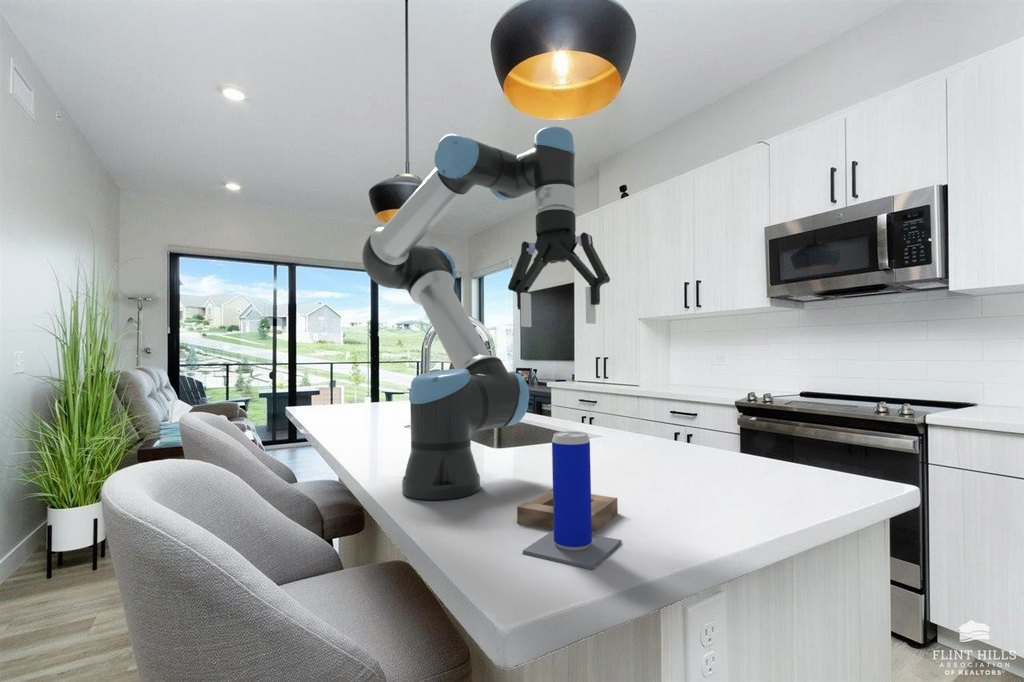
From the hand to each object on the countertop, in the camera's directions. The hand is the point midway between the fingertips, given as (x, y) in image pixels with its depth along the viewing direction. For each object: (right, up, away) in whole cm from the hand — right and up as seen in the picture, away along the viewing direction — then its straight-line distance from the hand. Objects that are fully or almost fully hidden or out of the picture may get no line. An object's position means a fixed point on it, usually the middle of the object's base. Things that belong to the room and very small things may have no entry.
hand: (557, 325), depth 95 cm
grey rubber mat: (0, -31, -26) cm, 41 cm away
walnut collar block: (+1, -31, -14) cm, 34 cm away
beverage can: (0, -31, -26) cm, 40 cm away
